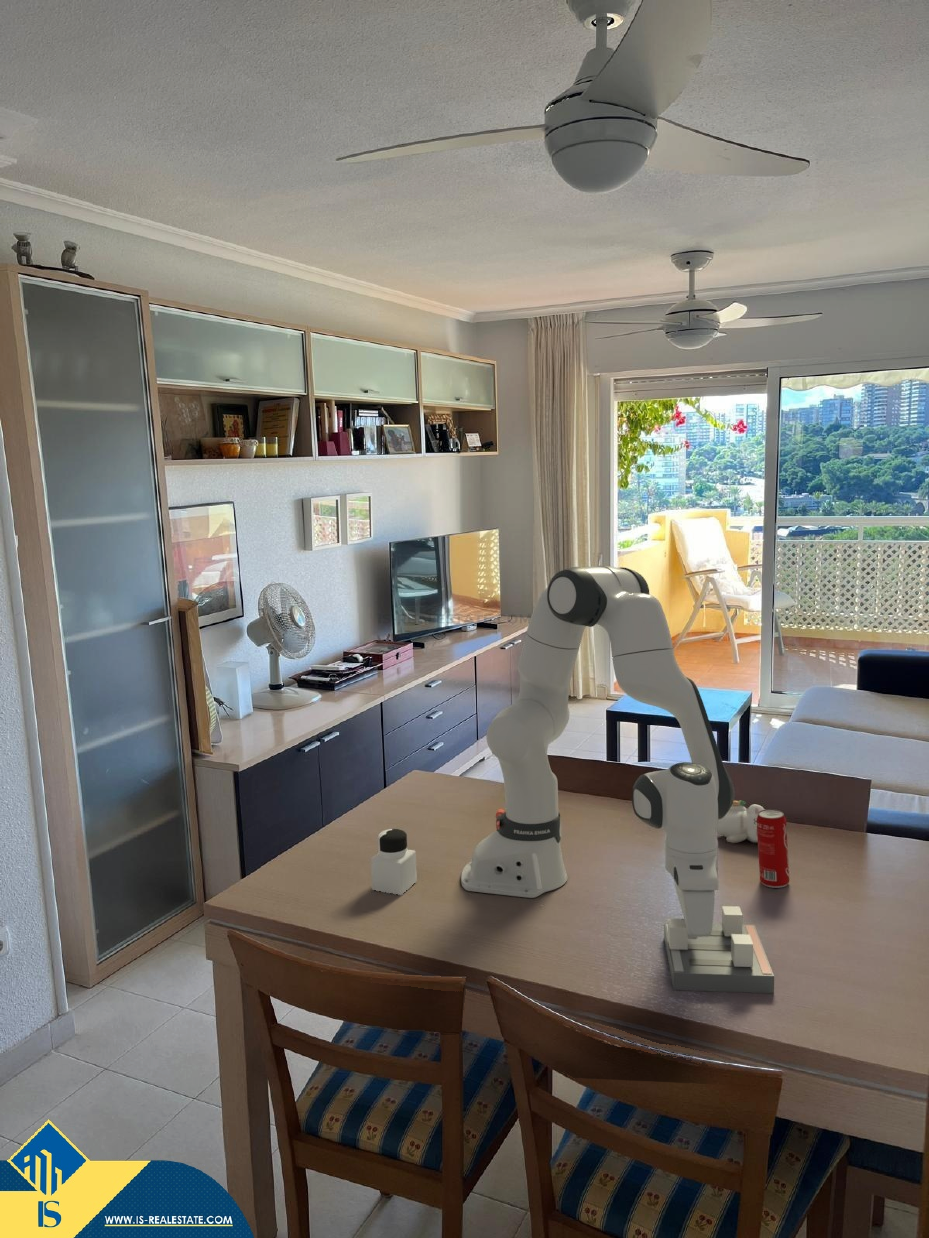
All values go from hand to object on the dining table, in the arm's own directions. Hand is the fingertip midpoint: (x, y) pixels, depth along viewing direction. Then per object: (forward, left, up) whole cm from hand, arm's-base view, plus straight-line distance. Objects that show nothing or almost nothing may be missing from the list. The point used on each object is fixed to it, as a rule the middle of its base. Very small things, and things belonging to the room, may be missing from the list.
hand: (691, 935), depth 157 cm
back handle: (+8, +5, -2) cm, 9 cm away
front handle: (+8, -5, -2) cm, 9 cm away
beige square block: (-2, 0, -2) cm, 3 cm away
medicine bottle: (-58, +27, -5) cm, 64 cm away
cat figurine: (+19, +54, -5) cm, 58 cm away
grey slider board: (+4, 0, -5) cm, 6 cm away
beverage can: (+20, +32, -5) cm, 38 cm away
